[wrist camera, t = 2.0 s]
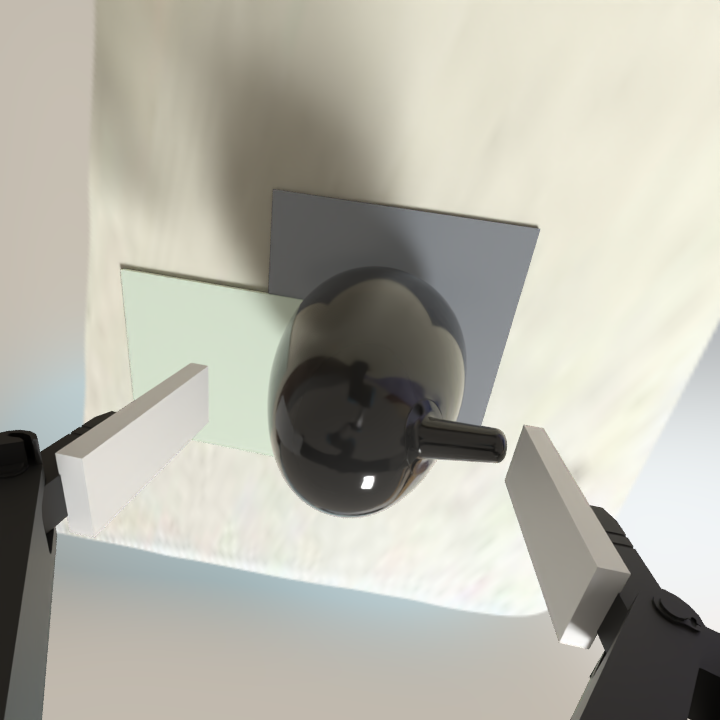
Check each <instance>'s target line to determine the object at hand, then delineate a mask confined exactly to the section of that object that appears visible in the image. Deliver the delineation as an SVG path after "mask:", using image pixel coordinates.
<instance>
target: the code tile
mask: <svg viewBox="0 0 720 720" xmlns="http://www.w3.org/2000/svg"><path fill="white" fill-rule="evenodd" d="M539 232H540V229H537V228H530V227H524V226H517V225H510V224H504V223H497V222H490V221H484V220H477V219H470V218H463V217H457V216H450V215H443V214H437V213H430V212H423V211H417V210H410V209H403V208H396V207H390V206H383V205H376V204H370V203H363V202H356V201H350V200H343V199H336V198H330V197H323V196H316V195H309V194H303V193H296V192H289V191H283V190H276V189H273V201H272V223H271V245H270V267H269V289H268V294H273V295H278V296H284V297H290V298H296V299H302V300H304V299H305V298H306V297H307V295H308V294H309V293H310V292H311V291H313V290H314V289H315V288H316V287H317V286H318V285H320V284H321V283H322V282H324V281H325V280H327V279H329V278H330V277H332V276H334V275H336V274H338V273H341V272H343V271H346V270H350V269H354V268H358V267H366V266H382V267H390V268H395V269H399V270H402V271H405V272H408V273H410V274H413V275H415V276H417V277H419V278H420V279H422V280H424V281H425V282H427V283H428V284H429V285H431V286H432V287H433V288H434V289H436V290H437V291H438V292H439V293H440V294H441V295H442V296H443V297H444V299H445V300H446V301H447V302H448V304H449V305H450V307H451V308H452V310H453V311H454V313H455V315H456V317H457V319H458V321H459V324H460V326H461V329H462V333H463V336H464V341H465V346H466V356H467V372H466V385H465V392H464V398H463V402H462V406H461V410H460V413H459V416H458V419H457V422H462V423H468V424H474V425H479V426H481V424H482V421H483V418H484V414H485V411H486V408H487V404H488V401H489V398H490V394H491V391H492V388H493V384H494V381H495V378H496V374H497V371H498V368H499V365H500V361H501V358H502V355H503V351H504V348H505V345H506V341H507V338H508V335H509V331H510V328H511V325H512V321H513V318H514V315H515V311H516V308H517V305H518V302H519V298H520V295H521V292H522V288H523V285H524V282H525V278H526V275H527V272H528V268H529V265H530V262H531V258H532V255H533V252H534V249H535V245H536V242H537V239H538V235H539Z"/></svg>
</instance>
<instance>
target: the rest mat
mask: <svg viewBox="0 0 720 720" xmlns="http://www.w3.org/2000/svg"><path fill="white" fill-rule="evenodd" d="M120 270H121V280H122V290H123V300H124V310H125V319H126V329H127V339H128V349H129V359H130V369H131V378H132V388H133V398H134V400H136V399H137V398H139V397H140V396H142V395H143V394H145V393H146V392H148V391H149V390H151V389H152V388H154V387H155V386H157V385H158V384H160V383H161V382H163V381H164V380H166V379H167V378H169V377H170V376H172V375H173V374H175V373H176V372H178V371H179V370H181V369H182V368H184V367H185V366H187V365H188V364H190V363H196V364H201V365H206V366H208V385H209V422H208V423H207V424H206V425H205V426H204V428H203V429H202V430H201V431H200V432H199V433H198V434H197V435H196V436H195V437H194V438H193V439H192V440H194V441H199V442H203V443H208V444H213V445H218V446H223V447H228V448H233V449H238V450H243V451H248V452H253V453H257V454H262V455H267V456H272V457H274V454H273V450H272V447H271V442H270V436H269V429H268V414H267V400H268V387H269V379H270V373H271V368H272V364H273V360H274V356H275V353H276V350H277V347H278V344H279V342H280V340H281V337H282V335H283V333H284V331H285V329H286V327H287V325H288V323H289V321H290V319H291V317H292V316H293V314H294V312H295V311H296V309H297V308H298V306H299V305H300V304H301V302H302V301H303V300H302V299H296V298H290V297H284V296H278V295H273V294H268V293H265V292H260V291H254V290H248V289H242V288H236V287H230V286H224V285H219V284H213V283H207V282H201V281H195V280H189V279H183V278H178V277H172V276H166V275H160V274H154V273H148V272H142V271H137V270H131V269H125V268H124V269H120Z"/></svg>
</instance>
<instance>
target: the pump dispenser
mask: <svg viewBox="0 0 720 720" xmlns="http://www.w3.org/2000/svg"><path fill="white" fill-rule="evenodd" d="M466 372H467V356H466V346H465V341H464V336H463V333H462V329H461V326H460V324H459V321H458V319H457V317H456V315H455V313H454V311H453V310H452V308H451V307H450V305H449V304H448V302H447V301H446V300H445V299H444V297H443V296H442V295H441V294H440V293H439V292H438V291H437V290H436V289H434V288H433V287H432V286H431V285H429V284H428V283H427V282H425V281H424V280H422V279H420V278H419V277H417V276H415V275H413V274H410V273H408V272H405V271H402V270H399V269H395V268H390V267H382V266H366V267H358V268H354V269H350V270H346V271H343V272H341V273H338V274H336V275H334V276H332V277H330V278H329V279H327V280H325V281H324V282H322V283H321V284H320V285H318V286H317V287H316V288H315V289H314V290H313V291H311V292H310V293H309V294H308V295H307V297H306V298H305V299H304V300H303V301H302V302H301V304H300V305H299V306H298V308H297V309H296V311H295V312H294V314H293V316H292V317H291V319H290V321H289V323H288V325H287V327H286V329H285V331H284V333H283V335H282V337H281V340H280V342H279V344H278V347H277V350H276V353H275V356H274V360H273V364H272V368H271V373H270V379H269V387H268V400H267V414H268V429H269V436H270V442H271V447H272V450H273V454H274V457H275V460H276V463H277V466H278V468H279V470H280V472H281V474H282V476H283V478H284V480H285V482H286V483H287V485H288V486H289V487H290V489H291V490H292V491H293V492H294V493H295V494H296V495H297V496H298V497H299V498H300V499H301V500H302V501H303V502H305V503H306V504H307V505H309V506H310V507H312V508H314V509H315V510H317V511H320V512H322V513H324V514H327V515H331V516H335V517H341V518H361V517H366V516H370V515H374V514H377V513H379V512H382V511H384V510H386V509H388V508H390V507H392V506H393V505H395V504H396V503H398V502H399V501H401V500H402V499H403V498H405V497H406V496H407V495H408V494H410V493H411V492H412V491H413V490H414V489H415V488H416V487H417V486H418V485H419V484H420V483H421V482H422V480H423V479H424V478H425V477H426V475H427V474H428V473H429V471H430V470H431V469H432V467H433V466H434V464H435V463H436V461H437V460H454V461H470V462H486V463H499V462H501V461H502V460H503V459H504V458H505V455H506V451H507V441H506V437H505V435H504V433H503V432H502V431H501V430H500V429H497V428H491V427H485V426H479V425H474V424H468V423H462V422H457V419H458V416H459V413H460V410H461V406H462V402H463V398H464V392H465V385H466Z"/></svg>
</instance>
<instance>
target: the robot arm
mask: <svg viewBox="0 0 720 720" xmlns="http://www.w3.org/2000/svg"><path fill="white" fill-rule="evenodd" d="M208 422H209V385H208V366H206V365H201V364H196V363H190V364H188V365H187V366H185V367H184V368H182V369H181V370H179V371H178V372H176V373H175V374H173V375H172V376H170V377H169V378H167V379H166V380H164V381H163V382H161V383H160V384H158V385H157V386H155V387H154V388H152V389H151V390H149V391H148V392H146V393H145V394H143V395H142V396H140V397H139V398H137V399H136V400H134V401H133V402H131V403H130V404H128V405H127V406H125V407H124V408H122V409H121V410H119V411H118V412H113V411H111V412H108V413H105V414H102V415H100V416H97V417H94V418H93V419H91V420H90V421H88V422H87V423H85V424H83V425H82V427H79V428H77V429H76V430H74V431H72V432H71V434H68V435H66V436H65V437H63V438H61V439H60V440H58V441H57V442H55V443H53V444H52V445H51V446H49V447H47V448H46V449H44V450H43V451H41V452H40V449H39V444H38V439H37V436H36V434H35V433H33V432H31V431H25V430H15V431H14V430H13V431H6V432H1V433H0V720H42V711H43V700H44V687H45V676H46V663H47V652H48V639H49V627H50V615H51V603H52V590H53V578H54V567H55V555H56V542H57V541H56V540H57V533H56V528H55V526H56V525H58V524H59V523H60V522H61V521H62V520H63V519H64V518H66V517H67V520H68V525H69V531H70V532H71V533H76V534H80V535H85V536H89V537H93V538H95V537H96V536H97V535H98V534H99V533H100V532H101V531H102V530H103V529H104V528H105V527H106V526H107V525H108V524H109V523H110V521H111V520H112V519H113V518H114V517H115V516H116V515H117V514H118V513H119V512H120V511H121V510H122V509H123V508H124V507H125V506H126V505H127V504H128V503H129V502H130V501H131V500H132V499H133V498H134V497H135V496H136V495H137V494H138V493H139V492H140V491H141V490H142V489H143V488H144V487H145V486H146V485H147V484H148V483H149V482H150V481H151V480H152V479H153V478H154V477H155V476H156V475H157V474H158V473H159V472H160V471H161V470H162V469H163V468H164V467H165V466H166V465H167V464H168V463H169V462H170V461H171V460H172V459H173V458H174V457H175V456H176V455H177V454H178V453H179V452H180V451H181V450H182V449H183V448H184V447H185V446H186V445H187V444H188V443H189V442H190V441H191V440H192V439H193V438H194V437H195V436H196V435H197V434H198V433H199V432H200V431H201V430H202V429H203V428H204V426H205V425H206V424H207V423H208ZM505 483H506V486H507V489H508V492H509V495H510V498H511V501H512V504H513V507H514V510H515V513H516V516H517V519H518V522H519V525H520V528H521V531H522V534H523V537H524V540H525V543H526V546H527V549H528V552H529V555H530V557H531V560H532V563H533V566H534V569H535V572H536V575H537V578H538V581H539V584H540V587H541V590H542V593H543V596H544V599H545V602H546V605H547V608H548V611H549V614H550V617H551V620H552V623H553V626H554V629H555V632H556V635H557V638H558V641H559V643H563V644H568V645H572V646H577V647H581V648H585V649H589V648H590V647H591V644H592V643H593V641H594V639H595V637H596V636H597V634H598V636H599V638H600V640H601V642H602V645H603V647H604V649H605V651H604V653H603V654H602V656H601V658H600V660H599V661H598V663H597V665H596V667H595V668H594V670H593V672H592V673H591V675H590V680H589V682H588V684H587V687H586V689H585V691H584V693H583V695H582V697H581V699H580V701H579V703H578V705H577V707H576V709H575V711H574V713H573V715H572V717H571V719H570V720H687V718H688V719H690V720H720V633H718V632H715V631H714V630H711V629H709V628H707V627H705V625H704V624H703V622H702V620H701V618H700V617H699V615H698V614H697V613H696V612H695V611H694V610H693V609H692V608H691V607H690V606H689V605H688V604H686V603H685V602H684V601H683V600H681V599H680V598H679V597H677V596H676V595H674V594H672V593H670V592H668V591H666V590H664V589H661V588H660V586H659V585H658V583H657V582H656V580H655V579H654V577H653V576H652V574H651V573H650V571H649V569H648V568H647V566H646V565H645V563H644V562H643V560H642V559H641V557H640V556H639V554H638V553H637V551H636V550H635V549H633V545H632V544H631V542H630V541H629V539H628V538H627V537H626V534H625V533H624V531H623V530H622V528H621V527H620V525H619V524H618V522H617V521H616V520H615V519H614V518H613V517H612V516H611V515H610V514H608V513H607V512H606V511H605V510H604V509H603V508H601V507H596V506H591V505H589V503H588V502H587V500H586V498H585V497H584V495H583V493H582V492H581V490H580V488H579V487H578V485H577V483H576V482H575V480H574V478H573V477H572V475H571V473H570V472H569V470H568V468H567V467H566V465H565V463H564V462H563V460H562V458H561V457H560V455H559V453H558V452H557V450H556V448H555V447H554V445H553V443H552V442H551V440H550V438H549V437H548V435H547V433H546V432H545V430H544V428H539V427H534V426H528V425H524V426H523V429H522V431H521V434H520V437H519V440H518V443H517V446H516V449H515V452H514V455H513V458H512V461H511V463H510V466H509V469H508V472H507V475H506V478H505Z"/></svg>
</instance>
